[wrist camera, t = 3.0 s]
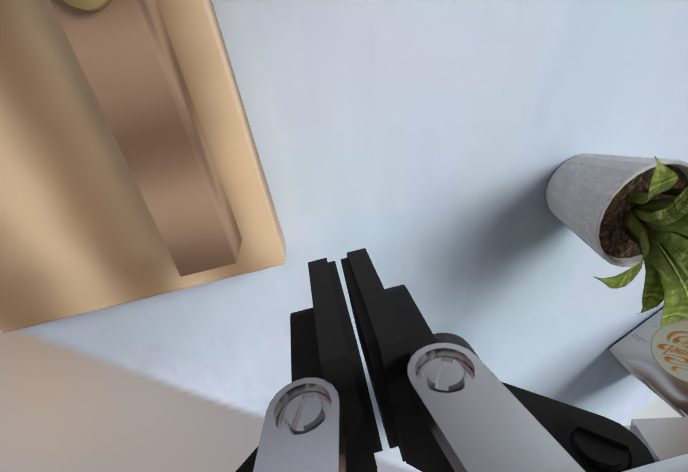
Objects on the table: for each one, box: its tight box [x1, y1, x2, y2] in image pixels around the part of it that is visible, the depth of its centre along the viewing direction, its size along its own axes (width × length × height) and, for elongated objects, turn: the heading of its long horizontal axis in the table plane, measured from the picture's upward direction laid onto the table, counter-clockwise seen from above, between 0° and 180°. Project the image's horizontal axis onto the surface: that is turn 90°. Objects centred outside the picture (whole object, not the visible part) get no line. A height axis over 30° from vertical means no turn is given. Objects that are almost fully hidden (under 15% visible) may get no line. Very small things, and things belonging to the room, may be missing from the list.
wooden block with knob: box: [0, 0, 285, 333], centre depth 18 cm, size 18×20×6 cm
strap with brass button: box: [50, 0, 242, 277], centre depth 17 cm, size 14×3×4 cm, turn 11°
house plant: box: [546, 154, 688, 327], centre depth 21 cm, size 14×14×16 cm
